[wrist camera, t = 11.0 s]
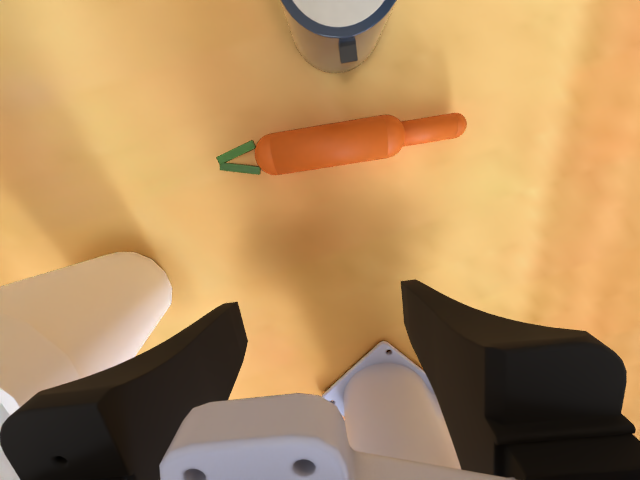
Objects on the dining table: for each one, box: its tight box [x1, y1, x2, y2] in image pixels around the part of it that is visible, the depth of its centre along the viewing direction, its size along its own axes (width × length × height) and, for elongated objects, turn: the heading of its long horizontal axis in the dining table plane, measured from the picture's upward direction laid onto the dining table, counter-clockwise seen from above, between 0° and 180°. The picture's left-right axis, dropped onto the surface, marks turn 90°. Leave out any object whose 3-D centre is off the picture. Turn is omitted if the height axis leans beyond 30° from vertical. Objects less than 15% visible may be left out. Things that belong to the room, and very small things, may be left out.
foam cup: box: [0, 252, 172, 480], centre depth 18 cm, size 10×9×13 cm
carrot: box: [216, 113, 467, 175], centre depth 19 cm, size 16×3×3 cm, turn 99°
